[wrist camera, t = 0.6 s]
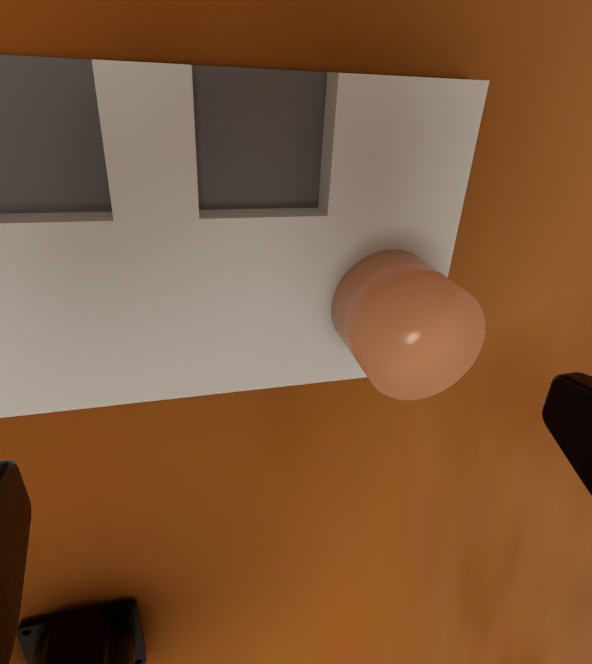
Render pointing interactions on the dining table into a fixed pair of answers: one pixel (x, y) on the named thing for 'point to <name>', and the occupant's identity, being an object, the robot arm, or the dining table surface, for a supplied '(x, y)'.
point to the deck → (207, 220)
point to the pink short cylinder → (407, 324)
